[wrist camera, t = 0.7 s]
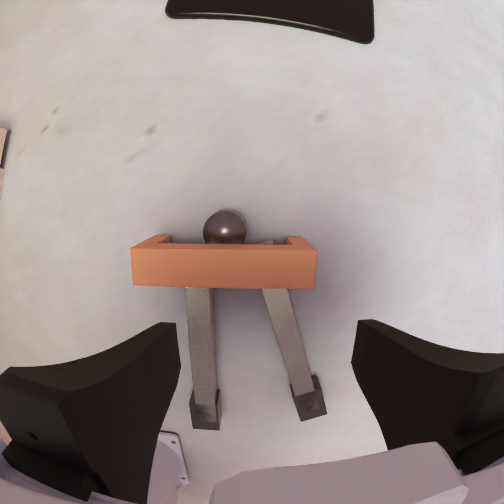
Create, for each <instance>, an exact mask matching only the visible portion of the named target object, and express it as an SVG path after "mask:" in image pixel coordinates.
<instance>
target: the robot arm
mask: <svg viewBox="0 0 504 504" xmlns="http://www.w3.org/2000/svg"><path fill="white" fill-rule="evenodd" d="M351 364H352V367H353V371H354V374H355V377H356V379H357V382H358V384H359V386H360V388H361V390H362V392H363V394H364V396H365V398H366V400H367V401H368V403H369V405H370V407H371V409H372V411H373V413H374V415H375V417H376V419H377V421H378V423H379V425H380V428H381V430H382V433H383V436H384V439H385V442H386V445H387V449H388V451H384V452H380V453H376V454H371V455H367V456H362V457H357V458H351V459H346V460H339V461H333V462H326V463H318V464H309V465H299V466H286V467H272V468H266V469H260V470H253V471H246V472H242V473H240V474H238V475H235V476H233V477H231V478H229V479H227V480H225V481H222V482H220V483H218V484H216V485H215V487H214V489H213V492H212V494H211V496H210V501H209V504H504V353H500V354H496V353H478V352H470V351H463V350H457V349H453V348H449V347H445V346H441V345H437V344H434V343H431V342H428V341H425V340H423V339H420V338H417V337H415V336H412V335H410V334H408V333H405V332H403V331H401V330H398V329H396V328H394V327H391V326H389V325H387V324H384V323H382V322H379V321H376V320H373V319H369V320H358V324H357V331H356V337H355V343H354V349H353V355H352V361H351ZM180 369H181V363H180V355H179V348H178V340H177V331H176V323H168V322H160V323H157V324H155V325H153V326H152V327H150V328H148V329H146V330H144V331H143V332H141V333H139V334H137V335H135V336H134V337H132V338H130V339H128V340H126V341H124V342H122V343H120V344H118V345H116V346H114V347H112V348H110V349H108V350H105V351H103V352H100V353H98V354H95V355H92V356H89V357H86V358H82V359H78V360H74V361H70V362H66V363H61V364H55V365H47V366H37V367H9V368H8V369H7V370H5V371H4V372H3V373H2V374H1V375H0V420H1V422H2V424H3V425H4V427H5V429H6V430H7V432H8V434H9V435H10V437H11V438H12V439H13V440H12V441H11V442H10V443H9V445H7V444H6V443H5V442H4V441H3V440H2V439H0V504H176V503H177V498H178V493H179V488H180V484H189V477H188V474H187V470H186V466H185V462H184V458H183V454H182V450H181V445H180V441H179V437H178V436H177V435H176V434H173V433H165V432H160V429H161V426H162V423H163V421H164V418H165V416H166V413H167V410H168V408H169V405H170V403H171V400H172V397H173V395H174V392H175V389H176V387H177V383H178V378H179V373H180Z"/></svg>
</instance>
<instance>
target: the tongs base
mask: <svg viewBox="0 0 504 504" xmlns="http://www.w3.org/2000/svg"><path fill="white" fill-rule="evenodd" d="M245 235H246V223H245V220H244V218H243V216H242V215H241V214H240V213H239V212H237V211H235V210H232V209H223V210H220V211H218V212H217V213H215V214H214V215H212V216H211V217H210V218H209V219H208V220H207V222H206V223H205V226H204V230H203V236H204V240H205V242H206V244H243V242H244V240H245ZM185 291H186V308H187V322H188V335H189V347H190V358H191V368H192V378H193V387H194V388H193V390H192V394H191V398H190V402H189V406H190V413H191V419H192V426H193V429H206V430H220V422H221V401H220V390H218V389H217V374H216V354H215V331H214V301H213V288H199V287H185Z"/></svg>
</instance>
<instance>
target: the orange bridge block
mask: <svg viewBox="0 0 504 504" xmlns="http://www.w3.org/2000/svg"><path fill="white" fill-rule="evenodd" d="M130 251H131V265H132V276H133V285H146V286H170V287H199V288H244V289H314V287H315V274H316V260H317V250H316V249H314V248H313V247H312V246H311V245H310V244H309V243H308V242H307V241H306V240H305V239H303V238H302V237H286V245H260V244H178V243H170V235H155V236H153V237H151V238H149V239H147V240H145V241H143V242H142V243H140V244H138V245H136V246H134V247H132V248H130Z"/></svg>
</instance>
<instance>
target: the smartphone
mask: <svg viewBox="0 0 504 504" xmlns="http://www.w3.org/2000/svg"><path fill="white" fill-rule="evenodd" d="M165 13H166V15H167V16H168V17H170V18H173V19H225V20H242V21H252V22H261V23H269V24H276V25H283V26H289V27H295V28H300V29H305V30H310V31H315V32H319V33H324V34H328V35H332V36H336V37H340V38H343V39H347V40H350V41H354V42H357V43H361V44H369V43H371V42H372V41H373V39H374V5H373V0H168V2H167V5H166V8H165Z"/></svg>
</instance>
